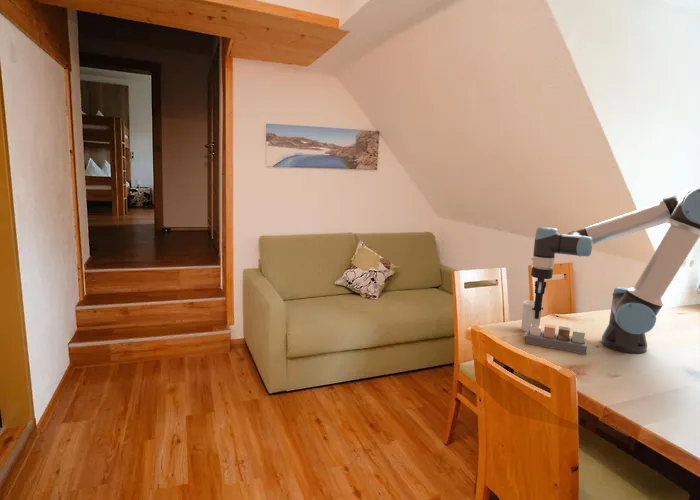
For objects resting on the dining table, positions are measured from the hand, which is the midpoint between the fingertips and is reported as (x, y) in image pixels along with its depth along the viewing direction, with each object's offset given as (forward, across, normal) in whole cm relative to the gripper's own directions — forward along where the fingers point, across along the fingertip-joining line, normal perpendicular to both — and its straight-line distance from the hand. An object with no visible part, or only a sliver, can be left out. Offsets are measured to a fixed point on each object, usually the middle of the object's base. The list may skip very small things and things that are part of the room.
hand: (535, 325), depth 171 cm
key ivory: (+4, 0, 0) cm, 4 cm away
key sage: (+3, 0, +15) cm, 15 cm away
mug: (+7, -14, -2) cm, 16 cm away
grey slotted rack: (+6, 0, +8) cm, 10 cm away
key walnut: (+3, 0, +10) cm, 11 cm away
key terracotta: (+3, 0, +5) cm, 6 cm away
